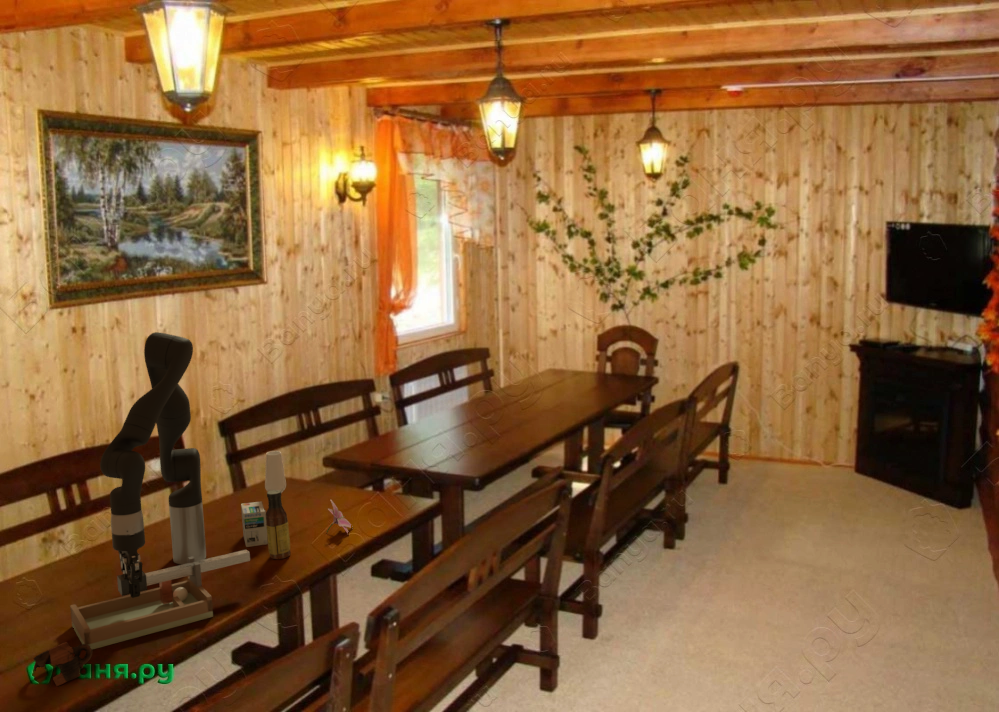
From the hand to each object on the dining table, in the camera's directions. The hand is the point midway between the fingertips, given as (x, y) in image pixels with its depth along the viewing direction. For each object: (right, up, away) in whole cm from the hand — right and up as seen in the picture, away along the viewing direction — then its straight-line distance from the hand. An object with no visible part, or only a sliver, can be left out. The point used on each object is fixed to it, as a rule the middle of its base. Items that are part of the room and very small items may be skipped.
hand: (133, 593), depth 231 cm
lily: (+42, +4, +59) cm, 73 cm away
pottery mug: (-5, -12, -26) cm, 29 cm away
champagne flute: (+20, +5, +67) cm, 70 cm away
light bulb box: (+16, +2, +54) cm, 56 cm away
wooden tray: (+3, -7, -1) cm, 7 cm away
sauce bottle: (+27, 0, +41) cm, 49 cm away
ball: (+9, -2, +7) cm, 12 cm away
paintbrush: (+11, -3, +8) cm, 14 cm away
